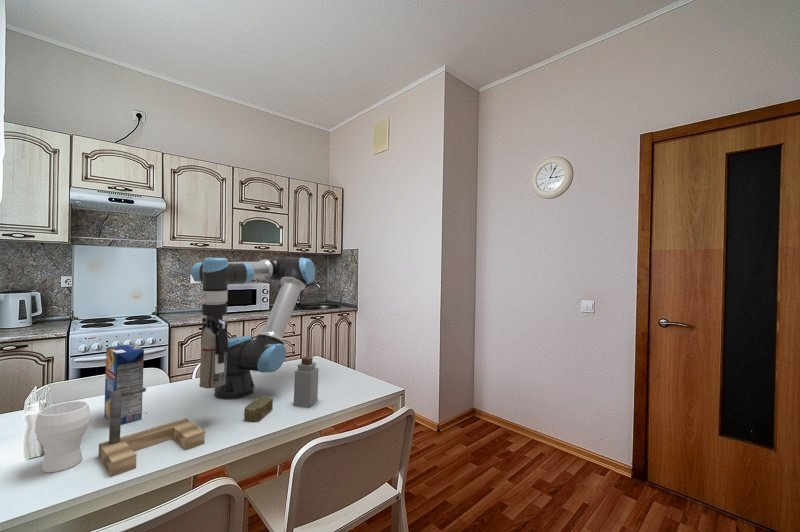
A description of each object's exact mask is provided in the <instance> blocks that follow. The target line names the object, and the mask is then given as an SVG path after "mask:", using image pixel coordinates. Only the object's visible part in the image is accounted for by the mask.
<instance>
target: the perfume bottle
mask: <svg viewBox="0 0 800 532" xmlns="http://www.w3.org/2000/svg"><path fill="white" fill-rule="evenodd" d="M316 365H317V362H315V361H313V356H304V357H302V358H301V362H300V363H298V364H297V369H296V370H294V379H293V380H294V382H293V383H294V385H293V387H294V388H293V406H294V407H301V408H306V409H307V408H308V409H311V408H312V407H313V406H314V405H315V404H316V403H318V393H319V392H318V391H319V367H316Z"/></svg>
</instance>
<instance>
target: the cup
mask: <svg viewBox="0 0 800 532" xmlns="http://www.w3.org/2000/svg"><path fill="white" fill-rule="evenodd" d="M91 413H92V412H91V409H90V406H89V403H88V402H87V401H85V400H72V401H64V402H60V403H56V404H52V405H50V406H49V405H48V406H46V407H44V408H42V409H41V410H39V411H38V414H37V416H36V419H35V425H34V426H35V428H34V433H35V436H36V438H37V440H38V441H39V442H40V444H41V445H42V446H43V450H44V451H43V452H44V457H43V461H42V466H41V471H42V472H44V473H56V472H61V471H64V470H67V469H70V468H72V467H74V466H77V465H78V464H80V463H81V462H82V460H83V455H82V450H81V444H82V443H81V442H82V438H83V437H84V436H83V435H84V434H85V433H86V431H87V429H88V428H89V424H90V422H91V416H92V415H91Z"/></svg>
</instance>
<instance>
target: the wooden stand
mask: <svg viewBox="0 0 800 532" xmlns="http://www.w3.org/2000/svg"><path fill="white" fill-rule="evenodd" d="M146 391H147V388H146V387H143V388H140V389H135V390H130V391H126V392H122V391H113V392H111V396H110V422H109V429H108V430H109V431H108V432H109V433H108V440H106V441H104V442H103V441H102V442H100V443H98V457H99V459H100V460H101V462H102V464H103V465H104V466H105V468H106V470H107V471H108V473H109V474H110V476H111V477H114V476H117V475H120V474H123V473H125V472H128V471H131V470H133V469H136V468H137V453H136V452H135V451H138V450H141V449H146V448H149V447H151V446H154V445H158V444H160V443H163V442H166V441H167V442H168V441H170V440H174V441H175V442H176V443H177V444H179V445H180V447H182V448H183V449H184V450H186V451H187V450H190V449H193V448H196V447H198V446H201V445H203V444H205V438H206V437H205V434H206V433H205V430H203V429H201V428H200V427H199V426H197V425H196V424H195V423H194V422H192V421H191V420H190V419H188V418H186V417H185V418H182V419H179V420H178V419H177V420H174V421H172V422H168V423H165V424H161V425H158V426H154V427H150V428H148V429H144V430H141V431H137V432H133V433H131V434H126V435H123V436H121V426H122V425H121V397H123V396H127V395H132V394H136V393H141V392H143V393H144V392H146Z"/></svg>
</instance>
